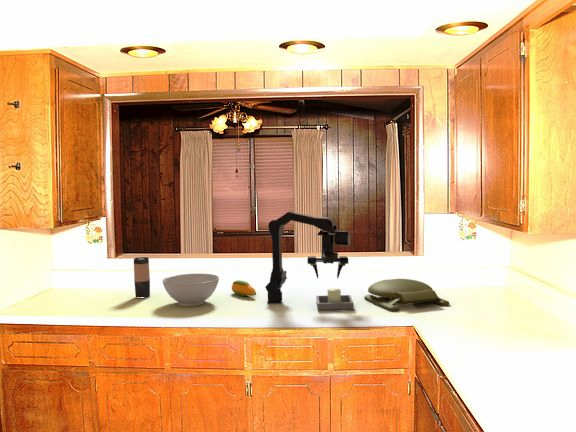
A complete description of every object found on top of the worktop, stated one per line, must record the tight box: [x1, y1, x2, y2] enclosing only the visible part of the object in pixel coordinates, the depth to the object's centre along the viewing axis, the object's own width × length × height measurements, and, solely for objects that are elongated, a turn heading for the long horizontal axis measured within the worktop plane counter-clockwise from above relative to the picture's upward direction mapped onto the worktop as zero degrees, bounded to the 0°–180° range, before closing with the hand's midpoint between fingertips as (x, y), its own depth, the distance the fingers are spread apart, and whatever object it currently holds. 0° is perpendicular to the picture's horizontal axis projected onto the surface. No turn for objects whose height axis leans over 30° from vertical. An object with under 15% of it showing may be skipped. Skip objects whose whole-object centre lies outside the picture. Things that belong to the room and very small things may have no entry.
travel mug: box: [133, 256, 151, 298], centre depth 295 cm, size 8×8×20 cm
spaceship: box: [364, 278, 450, 312], centre depth 274 cm, size 35×31×10 cm
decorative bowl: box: [162, 273, 220, 307], centre depth 279 cm, size 27×27×12 cm
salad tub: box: [326, 288, 342, 303], centre depth 265 cm, size 6×6×7 cm
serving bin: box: [315, 294, 355, 312], centre depth 265 cm, size 16×16×4 cm
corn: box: [231, 279, 257, 297], centre depth 293 cm, size 7×8×20 cm
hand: (327, 278), depth 268 cm, fingers open, 9 cm apart
